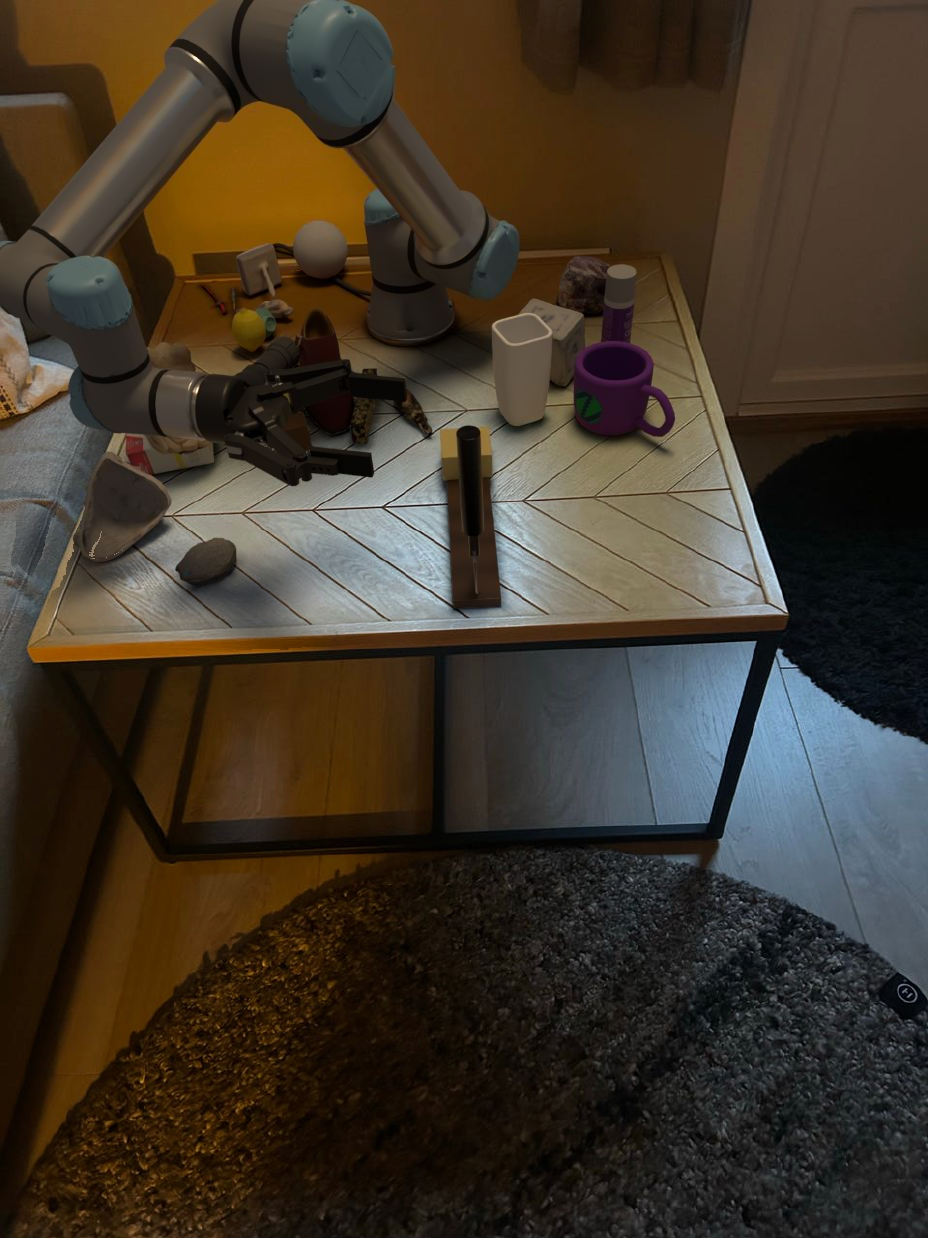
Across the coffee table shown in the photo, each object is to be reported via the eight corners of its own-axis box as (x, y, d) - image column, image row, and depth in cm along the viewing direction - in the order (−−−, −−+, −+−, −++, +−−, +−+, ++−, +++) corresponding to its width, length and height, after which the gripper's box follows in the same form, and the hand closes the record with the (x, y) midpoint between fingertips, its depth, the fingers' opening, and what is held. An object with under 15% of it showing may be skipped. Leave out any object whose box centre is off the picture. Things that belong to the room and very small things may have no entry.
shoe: (311, 446, 138) (301, 390, 130) (292, 357, 154) (283, 303, 146) (363, 437, 139) (356, 381, 132) (340, 350, 155) (332, 296, 147)
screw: (255, 316, 153) (266, 344, 156) (274, 303, 156) (285, 330, 159) (220, 314, 158) (231, 341, 161) (239, 301, 161) (250, 328, 164)
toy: (257, 364, 138) (273, 420, 128) (287, 358, 139) (305, 413, 129) (267, 410, 144) (284, 467, 134) (296, 404, 145) (314, 460, 135)
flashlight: (278, 358, 154) (272, 329, 150) (306, 364, 152) (300, 335, 148) (227, 408, 145) (219, 379, 141) (256, 415, 143) (248, 386, 139)
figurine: (218, 382, 141) (201, 323, 134) (227, 448, 130) (209, 387, 122) (137, 397, 139) (116, 338, 132) (138, 464, 128) (115, 404, 120)
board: (501, 606, 114) (501, 598, 113) (453, 609, 114) (452, 601, 113) (486, 452, 135) (485, 444, 134) (445, 455, 135) (444, 447, 134)
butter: (492, 477, 129) (492, 454, 126) (443, 480, 129) (441, 457, 126) (489, 448, 133) (489, 426, 130) (441, 451, 133) (439, 429, 130)
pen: (235, 288, 171) (231, 288, 170) (234, 284, 170) (230, 284, 170) (238, 327, 161) (234, 328, 161) (237, 324, 161) (233, 324, 161)
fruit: (274, 353, 155) (265, 309, 149) (244, 362, 153) (232, 319, 147) (263, 338, 158) (253, 295, 152) (233, 347, 156) (221, 304, 151)
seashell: (93, 572, 121) (86, 556, 130) (185, 517, 125) (171, 505, 133) (36, 494, 116) (32, 482, 124) (134, 439, 119) (123, 431, 127)
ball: (339, 257, 177) (331, 205, 169) (359, 279, 171) (351, 227, 163) (291, 270, 174) (280, 218, 167) (308, 293, 168) (299, 240, 161)
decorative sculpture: (295, 321, 161) (288, 282, 156) (241, 331, 160) (231, 292, 154) (281, 278, 172) (273, 240, 166) (230, 287, 170) (220, 250, 165)
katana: (232, 311, 165) (231, 308, 164) (224, 315, 164) (222, 312, 164) (205, 283, 172) (203, 280, 171) (197, 287, 172) (195, 284, 171)
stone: (248, 568, 120) (244, 556, 119) (189, 595, 118) (184, 583, 116) (228, 539, 124) (224, 527, 123) (170, 564, 122) (165, 552, 120)
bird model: (405, 389, 146) (404, 375, 144) (437, 436, 138) (436, 421, 136) (386, 394, 145) (385, 380, 143) (417, 441, 137) (416, 427, 135)
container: (627, 367, 148) (636, 279, 137) (598, 364, 149) (604, 278, 137) (629, 351, 151) (638, 264, 140) (601, 349, 152) (607, 262, 140)
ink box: (136, 479, 134) (216, 464, 135) (124, 452, 130) (207, 437, 132) (136, 445, 140) (214, 431, 141) (125, 418, 136) (205, 404, 137)
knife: (487, 593, 113) (481, 443, 96) (466, 594, 113) (456, 444, 96) (485, 570, 116) (479, 420, 98) (464, 571, 116) (455, 421, 99)
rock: (621, 326, 158) (611, 295, 165) (633, 280, 152) (623, 250, 158) (555, 321, 157) (547, 290, 163) (565, 275, 150) (557, 245, 157)
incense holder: (507, 375, 148) (507, 317, 140) (535, 351, 152) (535, 293, 144) (560, 394, 144) (562, 334, 136) (586, 368, 148) (590, 309, 140)
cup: (510, 435, 137) (509, 347, 126) (490, 409, 141) (487, 322, 130) (553, 421, 139) (556, 334, 128) (532, 396, 143) (533, 309, 132)
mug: (555, 418, 139) (558, 361, 132) (605, 387, 144) (611, 330, 137) (643, 470, 130) (651, 411, 123) (693, 435, 135) (704, 377, 128)
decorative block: (367, 445, 137) (364, 425, 134) (351, 444, 137) (348, 425, 134) (380, 385, 147) (377, 366, 144) (365, 385, 147) (362, 366, 145)
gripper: (255, 374, 113) (420, 389, 110) (170, 505, 97) (360, 528, 94) (241, 319, 108) (415, 333, 104) (149, 448, 92) (350, 470, 88)
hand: (389, 425), depth 99 cm, fingers open, 13 cm apart
